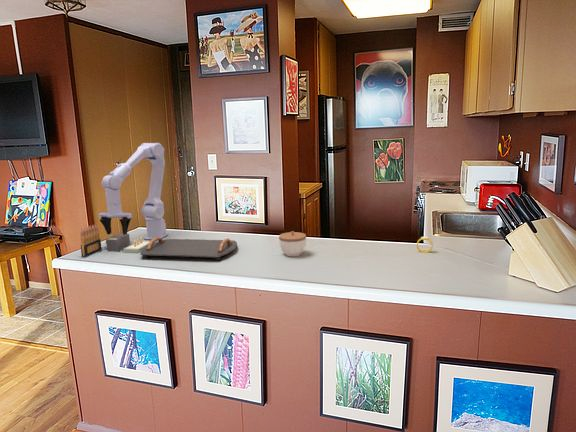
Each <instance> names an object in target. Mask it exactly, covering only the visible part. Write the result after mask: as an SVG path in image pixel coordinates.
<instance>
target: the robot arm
mask: <svg viewBox="0 0 576 432" xmlns="http://www.w3.org/2000/svg"><path fill="white" fill-rule="evenodd" d="M143 159H147V160H148V161H149V162H150V163H151V165H152V167H151V175H150V180H149V189H148V197H147V198H146V199H145V200H144V202H143V206H142V207H141V211H140V212H141V215H142V216H143V217H144V220H145V226H146V235H147V236H145V237H143V240H152V239H154V238H156V237H160V238H162V239H163V238H164V237H167V236H168V235H169V233H167V225H166V220H165V219H164V218H163V217H164V216H165V207H164V206H165V204H164V202H163V201H162V200H161V197H162V188H163V182H164V174H165V165H166V161H165V147H164V146H162V144H161V143H160V142H143V143H141V144H140V146H138V147H137V150H136V151H135V152H134V153H133V154H132V155H131V156H130V157H129V158H128V159H127V161H126V162H121V163H118V164H117V165H116V168H115V169H113V170H112V171H110V172H109V174H108V175H105V176H103V178H102V181H101V183H100V185H101V187H102V188H103V189H104V192H105V201H106V209H107V212H100V213H98V219H99V222H100V223H101V224H102V226H103V227H104V230H105V232H106V234H107V235H111V234H112V218H113V219H115V218H116V219H119V222H120V225H121V229H122V234H123V235H126V234H128V230H129V225H130V222H131V220H132V218H133V215H132V213H131V212H123V210H122V201H121V191H120V188H121V187H122V184H123V182H124V180H125V179H127V177H128V176H130V175H131V173H132V168H133V169H134V167H135V166H136V165H137V164H138V163H140V162H141V161H142V160H143Z"/></svg>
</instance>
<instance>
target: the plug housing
mask: <svg viewBox="0 0 576 432" xmlns="http://www.w3.org/2000/svg"><path fill="white" fill-rule="evenodd" d="M105 243H106V244H105V245H106V250H107V251H106V252H120V251H122V250H123V249H124V248H126V247H128V246H130V245H131V240H130V233H127V234H126V235H123V233H118V234H115V235H112V236H111V237H109V238H107V239H105Z"/></svg>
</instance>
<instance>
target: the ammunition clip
mask: <svg viewBox="0 0 576 432" xmlns="http://www.w3.org/2000/svg"><path fill="white" fill-rule="evenodd" d="M80 244H81V245H80V251H81V258H88V257H90V256H92V255H94V254H96V253H98V252H100V251H102V250H103V249H102V248H103V247H102V242H101V238H100V234H99V228H98V225H97V223H94V224H92V225H89V226H86V227H83V228H80Z"/></svg>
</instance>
